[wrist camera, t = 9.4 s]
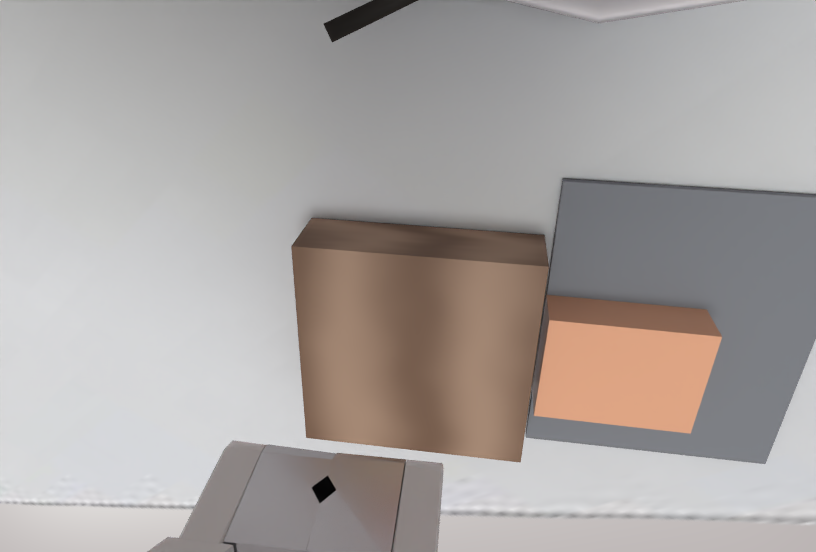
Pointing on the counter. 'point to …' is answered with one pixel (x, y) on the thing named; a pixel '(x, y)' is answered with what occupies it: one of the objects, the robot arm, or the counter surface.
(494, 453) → the brown wooden square block
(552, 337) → the terracotta tile
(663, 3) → the ramen bowl
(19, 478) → the counter surface
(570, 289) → the rubber mat
